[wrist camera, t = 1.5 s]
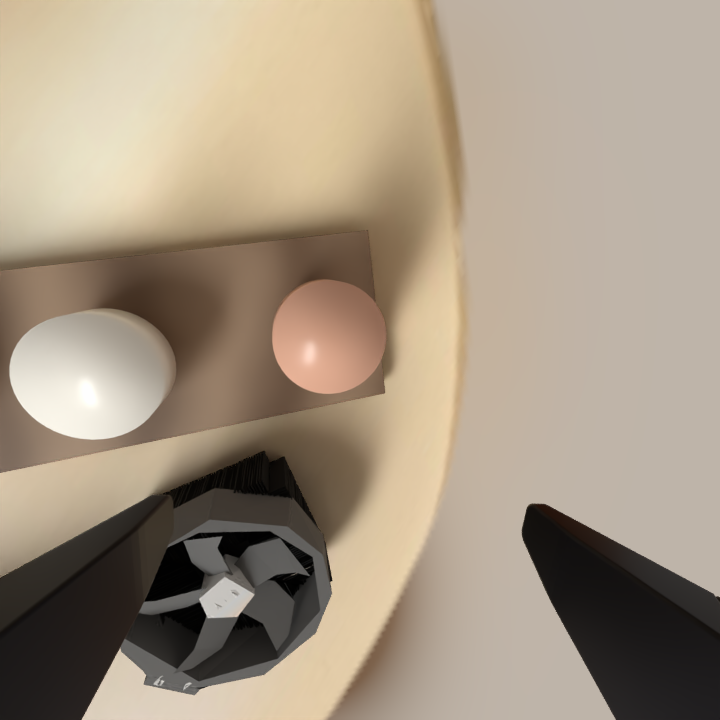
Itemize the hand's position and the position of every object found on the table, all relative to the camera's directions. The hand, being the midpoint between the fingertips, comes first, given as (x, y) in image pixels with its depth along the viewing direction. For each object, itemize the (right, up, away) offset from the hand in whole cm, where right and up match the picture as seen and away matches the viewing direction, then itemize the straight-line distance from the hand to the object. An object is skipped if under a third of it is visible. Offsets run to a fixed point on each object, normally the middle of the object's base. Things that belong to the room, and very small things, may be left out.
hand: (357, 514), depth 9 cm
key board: (-11, +4, +9) cm, 15 cm away
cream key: (-11, +4, +6) cm, 13 cm away
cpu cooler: (-8, -7, +14) cm, 17 cm away
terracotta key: (-2, +5, +8) cm, 10 cm away
